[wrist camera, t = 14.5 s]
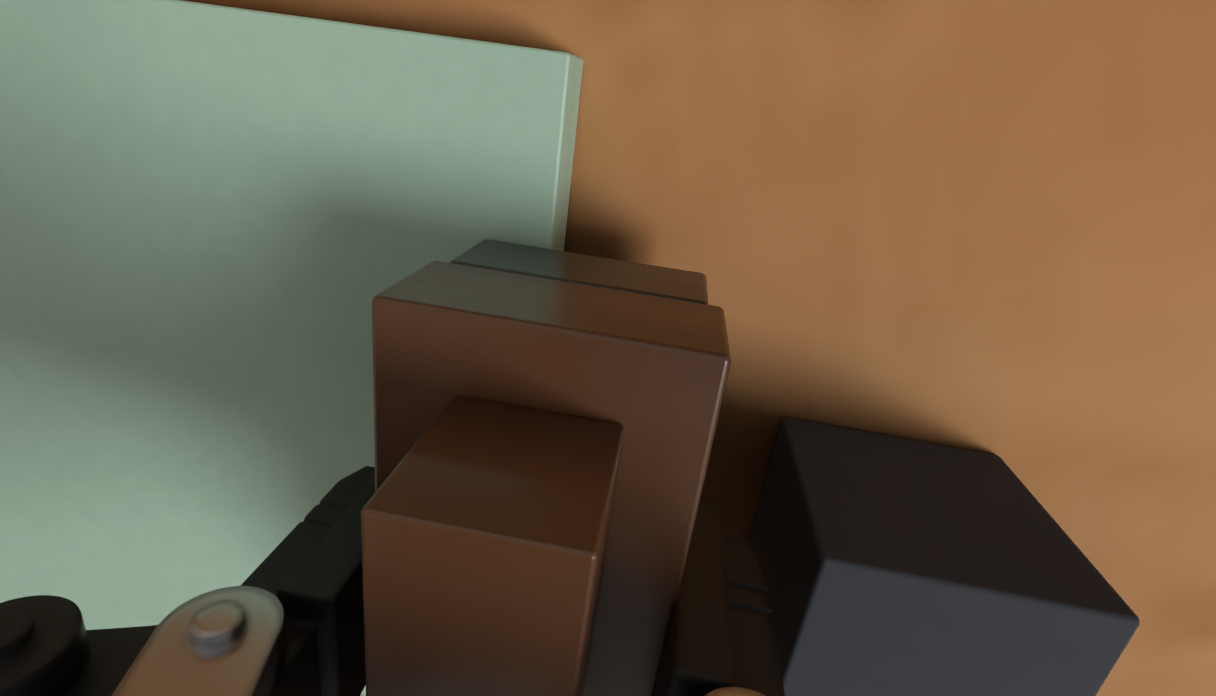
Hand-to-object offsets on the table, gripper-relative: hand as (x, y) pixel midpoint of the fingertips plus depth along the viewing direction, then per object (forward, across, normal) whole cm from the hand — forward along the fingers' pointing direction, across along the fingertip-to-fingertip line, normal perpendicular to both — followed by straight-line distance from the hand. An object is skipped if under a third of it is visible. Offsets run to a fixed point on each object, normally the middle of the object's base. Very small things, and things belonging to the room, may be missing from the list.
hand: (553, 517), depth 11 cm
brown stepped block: (+1, 0, 0) cm, 1 cm away
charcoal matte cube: (0, -4, 0) cm, 4 cm away
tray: (+2, +8, 0) cm, 8 cm away
